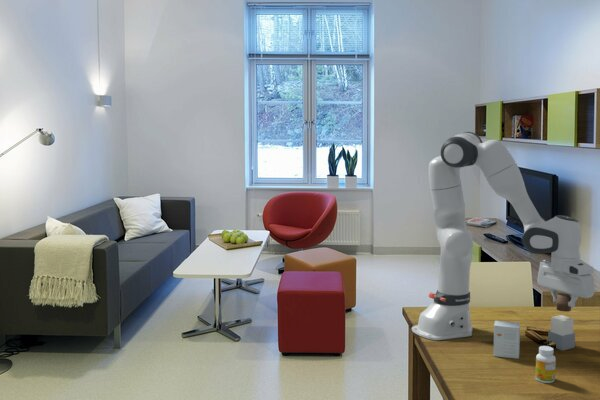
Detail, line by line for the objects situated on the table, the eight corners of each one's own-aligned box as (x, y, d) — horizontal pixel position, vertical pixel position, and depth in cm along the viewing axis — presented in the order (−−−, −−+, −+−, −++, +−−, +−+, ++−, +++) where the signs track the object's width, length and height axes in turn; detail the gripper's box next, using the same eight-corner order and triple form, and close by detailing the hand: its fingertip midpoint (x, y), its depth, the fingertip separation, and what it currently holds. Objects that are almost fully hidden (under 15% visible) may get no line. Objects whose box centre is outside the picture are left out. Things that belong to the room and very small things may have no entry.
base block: (562, 350, 211) (562, 336, 210) (547, 345, 216) (548, 331, 215) (574, 347, 214) (575, 333, 213) (559, 342, 219) (560, 328, 218)
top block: (562, 335, 211) (563, 321, 210) (550, 331, 215) (551, 317, 214) (573, 333, 213) (573, 318, 212) (560, 329, 217) (561, 314, 217)
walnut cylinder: (564, 312, 210) (565, 297, 209) (553, 308, 214) (554, 294, 213) (574, 310, 212) (574, 295, 211) (562, 306, 216) (563, 292, 215)
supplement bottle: (532, 376, 190) (533, 345, 189) (549, 375, 191) (550, 344, 189) (540, 383, 185) (541, 351, 184) (558, 383, 185) (559, 351, 184)
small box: (519, 353, 209) (520, 322, 207) (519, 359, 204) (520, 327, 202) (493, 350, 211) (494, 319, 210) (493, 356, 206) (494, 325, 205)
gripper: (533, 259, 219) (532, 298, 220) (585, 271, 201) (583, 314, 202) (546, 257, 222) (545, 295, 223) (598, 269, 204) (596, 310, 205)
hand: (563, 304), depth 213 cm, fingers closed on walnut cylinder, 4 cm apart
